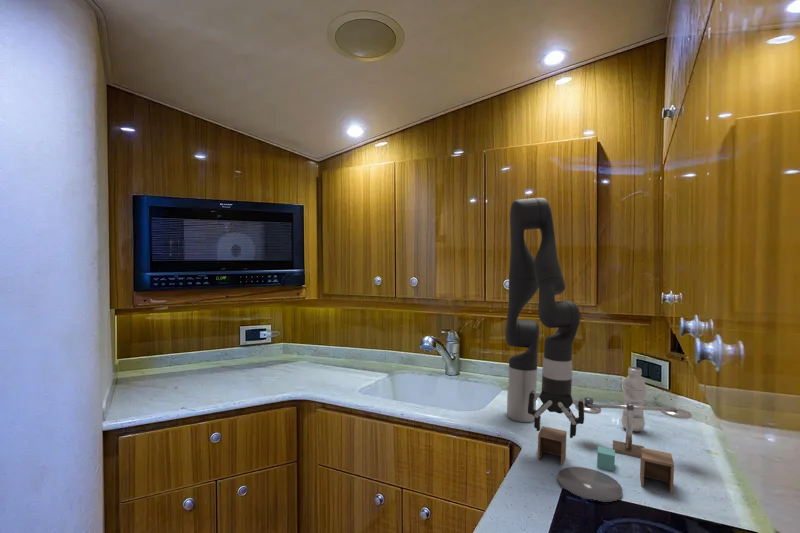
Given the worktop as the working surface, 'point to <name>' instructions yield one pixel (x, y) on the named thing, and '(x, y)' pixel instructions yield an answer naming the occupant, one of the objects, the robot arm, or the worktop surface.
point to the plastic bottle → (634, 397)
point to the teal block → (606, 458)
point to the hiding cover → (552, 442)
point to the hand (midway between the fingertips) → (554, 433)
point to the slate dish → (590, 484)
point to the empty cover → (657, 466)
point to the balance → (628, 446)
